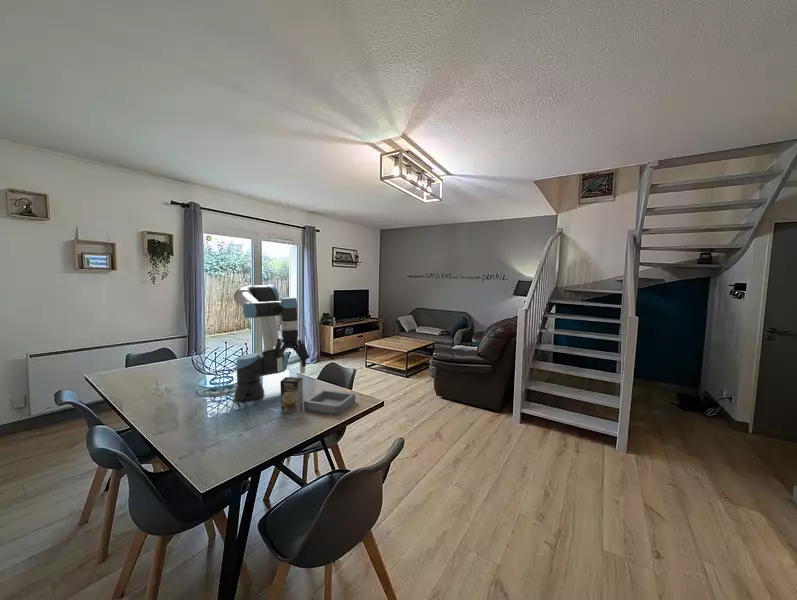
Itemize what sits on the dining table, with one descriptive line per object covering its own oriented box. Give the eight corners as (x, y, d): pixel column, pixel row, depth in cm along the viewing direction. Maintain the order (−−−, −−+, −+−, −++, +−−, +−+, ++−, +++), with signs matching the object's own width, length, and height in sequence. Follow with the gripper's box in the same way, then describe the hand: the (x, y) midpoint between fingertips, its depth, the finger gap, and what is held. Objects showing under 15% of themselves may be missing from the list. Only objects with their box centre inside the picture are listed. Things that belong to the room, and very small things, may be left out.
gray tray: (304, 410, 152) (303, 401, 152) (323, 397, 168) (323, 389, 168) (338, 416, 145) (338, 406, 145) (355, 402, 161) (355, 394, 161)
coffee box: (280, 413, 149) (279, 381, 148) (286, 407, 155) (285, 376, 154) (298, 413, 148) (297, 381, 147) (303, 408, 154) (302, 377, 153)
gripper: (263, 329, 149) (265, 371, 151) (306, 331, 141) (307, 376, 142) (275, 327, 156) (276, 367, 158) (315, 329, 148) (317, 372, 149)
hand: (291, 372), depth 150 cm, fingers open, 13 cm apart
